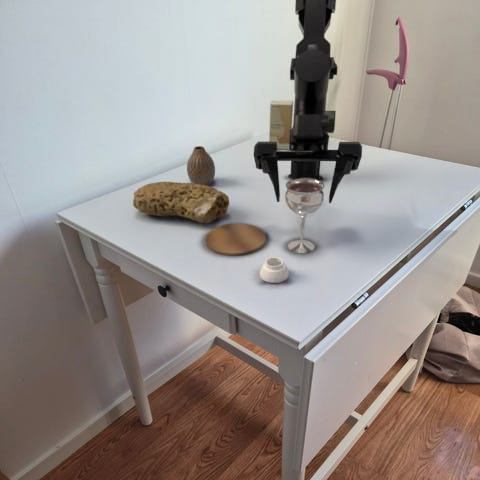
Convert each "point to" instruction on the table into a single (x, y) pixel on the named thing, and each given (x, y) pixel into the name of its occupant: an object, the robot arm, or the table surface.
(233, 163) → the table surface
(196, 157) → the vase
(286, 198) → the wineglass
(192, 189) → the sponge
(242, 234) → the coaster
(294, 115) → the robot arm
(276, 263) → the lidless jar
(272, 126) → the cosmetic box
